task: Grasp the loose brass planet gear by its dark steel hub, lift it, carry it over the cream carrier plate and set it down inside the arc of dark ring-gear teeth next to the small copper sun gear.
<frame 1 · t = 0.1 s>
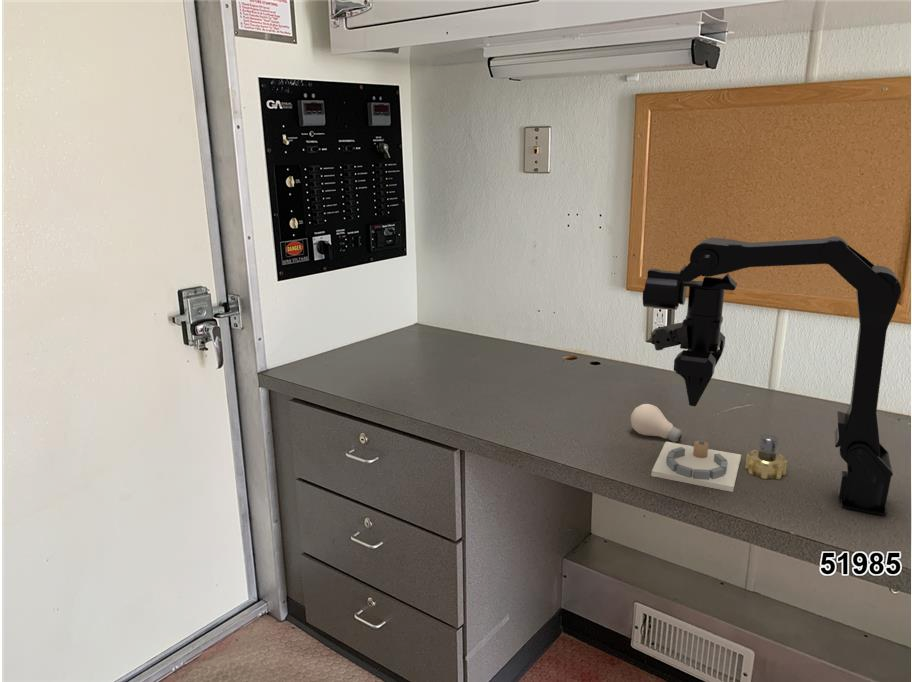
hand: (696, 397, 127), 15 cm above the table, fingers open, 9 cm apart
light bulb: (655, 437, 146), on the table
carrier: (697, 467, 133), on the table
planet gear: (765, 470, 131), on the table
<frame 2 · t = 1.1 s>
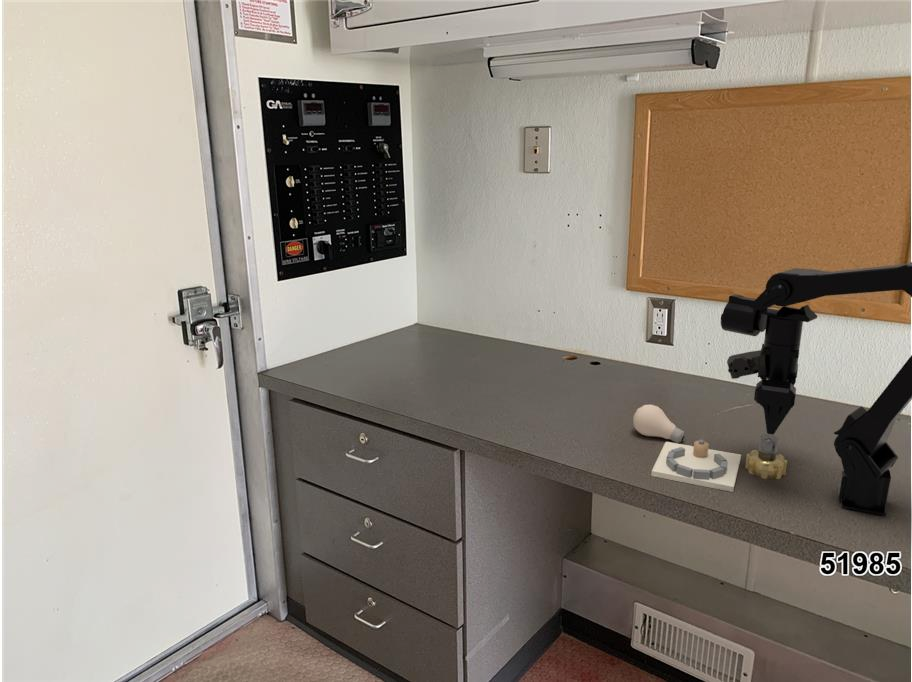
hand: (771, 424, 129), 9 cm above the table, fingers open, 9 cm apart
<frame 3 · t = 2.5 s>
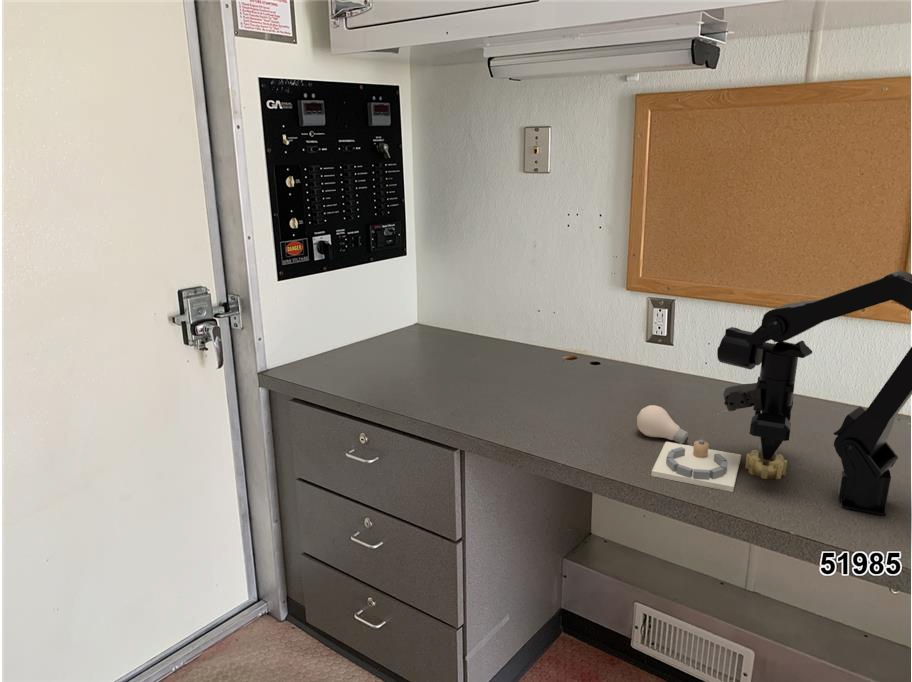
hand: (767, 455, 130), 3 cm above the table, fingers closed on planet gear, 3 cm apart
planet gear: (765, 470, 131), on the table, touching gripper
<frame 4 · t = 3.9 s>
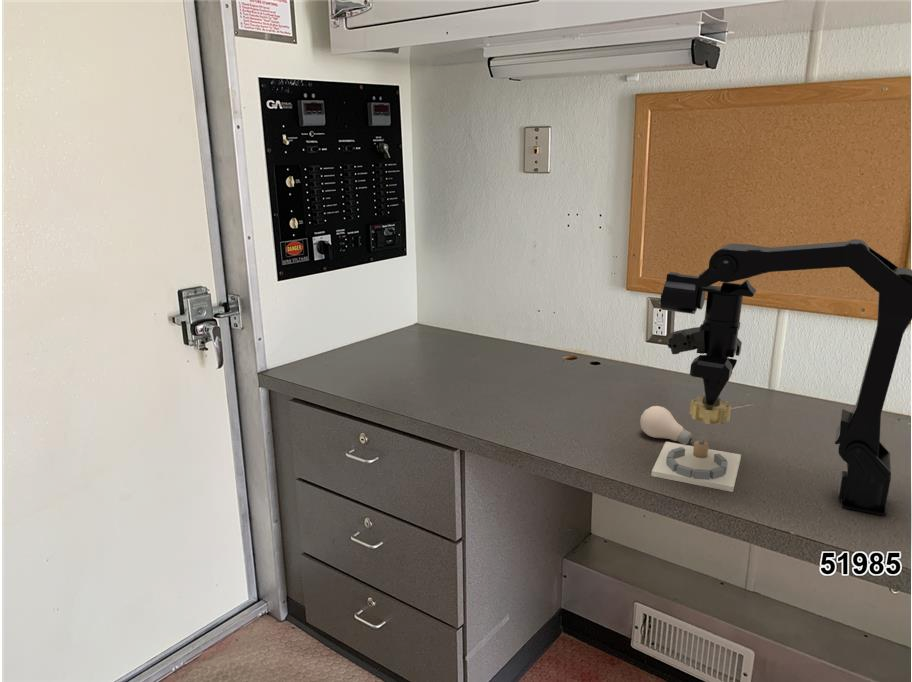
hand: (711, 401, 128), 14 cm above the table, fingers closed on planet gear, 3 cm apart
planet gear: (709, 416, 129), point 11 cm above the table, touching gripper
when the fingers open (4 cm above the table, at t = 5.3 s): planet gear stays where it is, resting on carrier.
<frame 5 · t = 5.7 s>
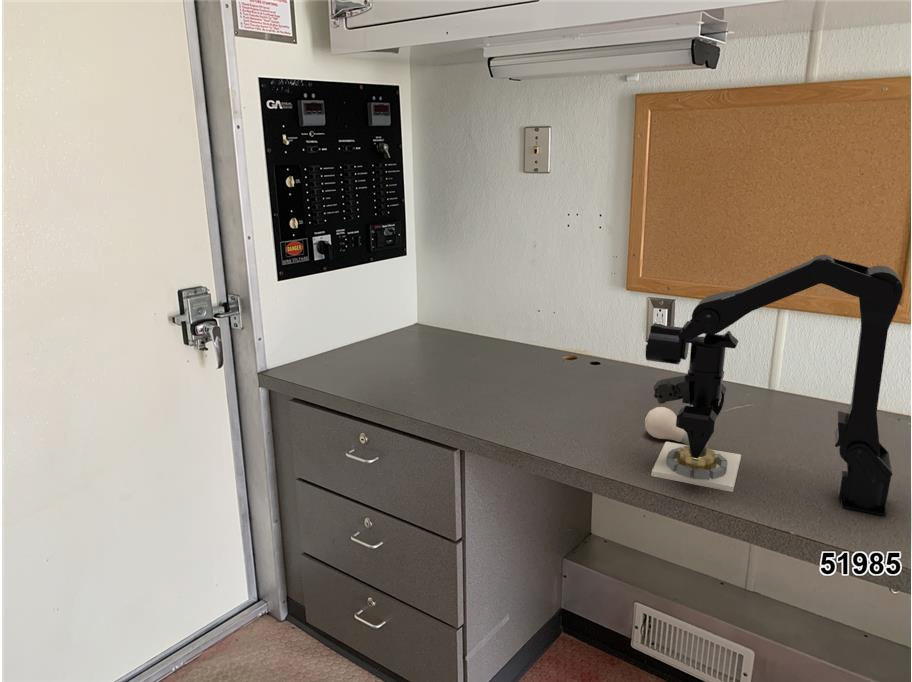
hand: (698, 448, 130), 4 cm above the table, fingers open, 8 cm apart
planet gear: (696, 465, 131), point 1 cm above the table, touching carrier
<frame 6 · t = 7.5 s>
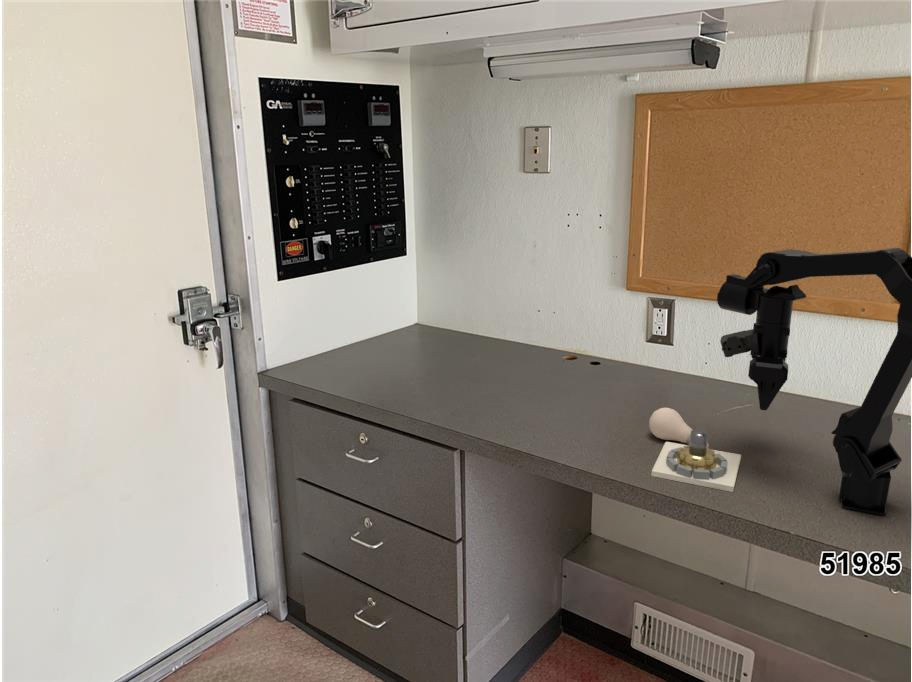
hand: (763, 401, 133), 12 cm above the table, fingers open, 9 cm apart
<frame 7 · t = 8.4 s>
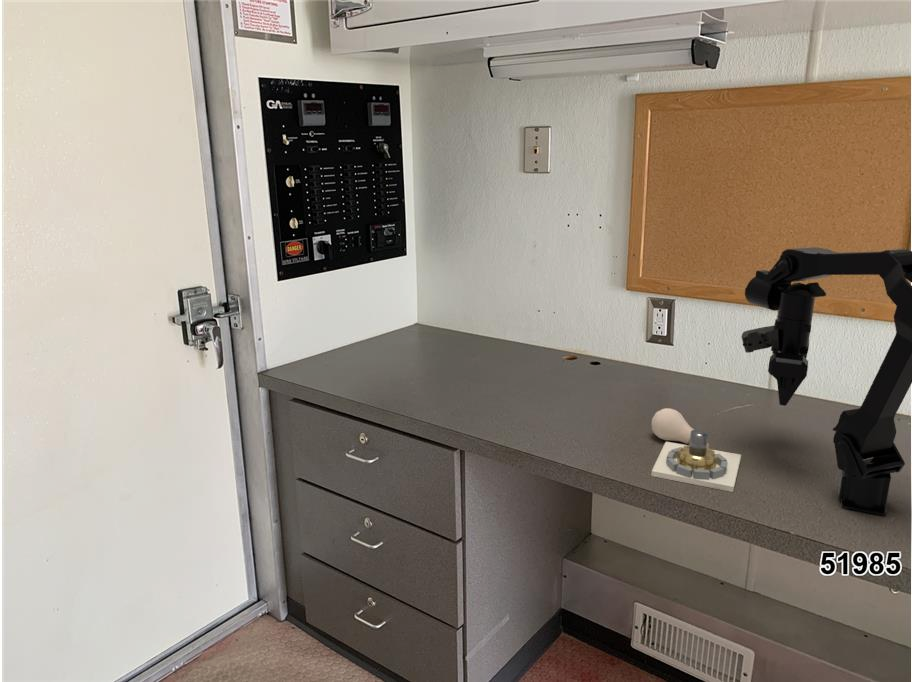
hand: (783, 396, 134), 12 cm above the table, fingers open, 9 cm apart
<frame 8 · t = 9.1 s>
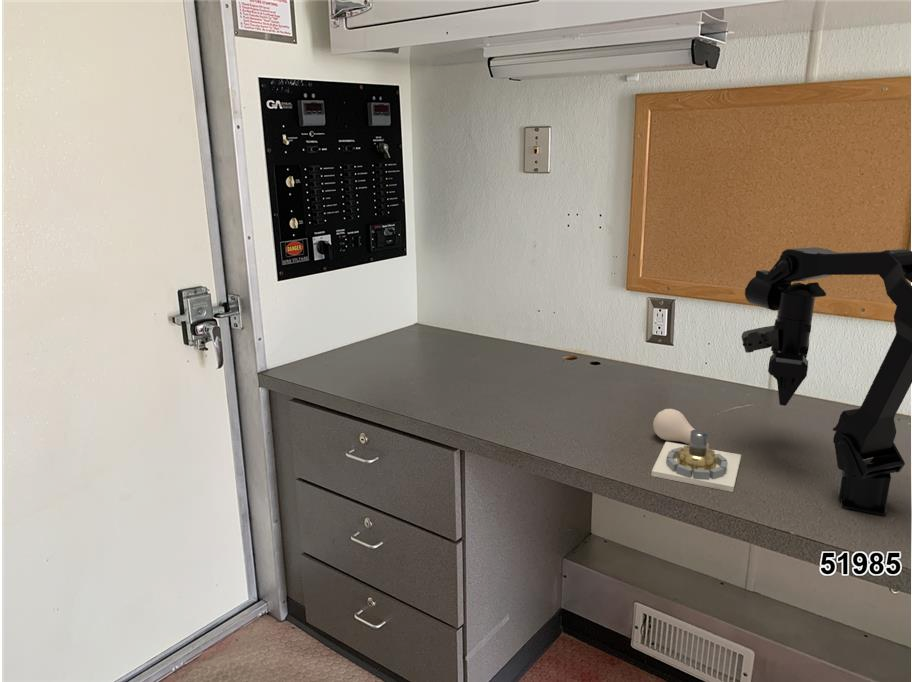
hand: (783, 396, 134), 12 cm above the table, fingers open, 9 cm apart
at the end: planet gear 0.0 cm from the target spot on the carrier, point 1.0 cm above the carrier's base; planet gear tilted 0°; the gripper is holding nothing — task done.
